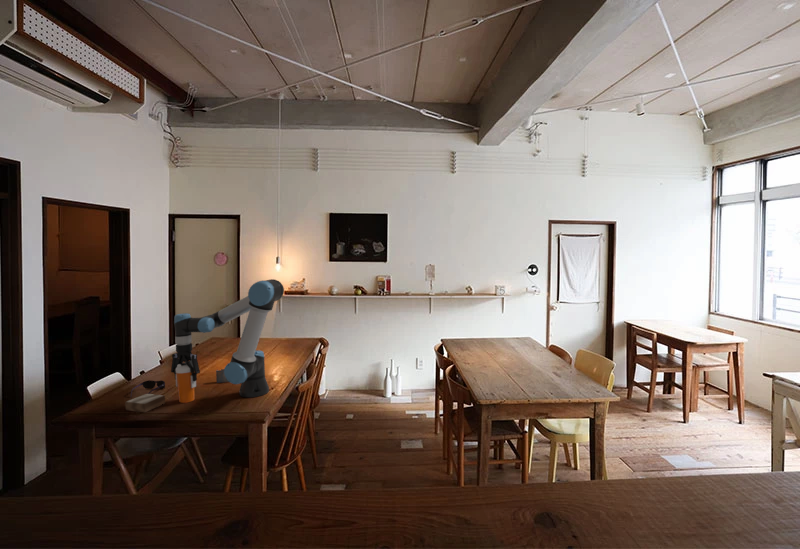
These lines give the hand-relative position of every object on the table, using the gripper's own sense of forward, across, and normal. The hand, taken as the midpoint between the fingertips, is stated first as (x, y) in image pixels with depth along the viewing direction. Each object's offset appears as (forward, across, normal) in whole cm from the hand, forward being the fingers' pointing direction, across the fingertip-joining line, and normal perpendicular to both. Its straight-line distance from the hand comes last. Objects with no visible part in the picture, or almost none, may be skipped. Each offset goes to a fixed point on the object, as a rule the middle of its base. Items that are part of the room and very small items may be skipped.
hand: (186, 386), depth 216 cm
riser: (+7, +14, +12) cm, 20 cm away
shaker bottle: (+8, 0, 0) cm, 8 cm away
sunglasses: (+8, +32, -5) cm, 33 cm away
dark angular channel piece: (+8, +1, -32) cm, 33 cm away
